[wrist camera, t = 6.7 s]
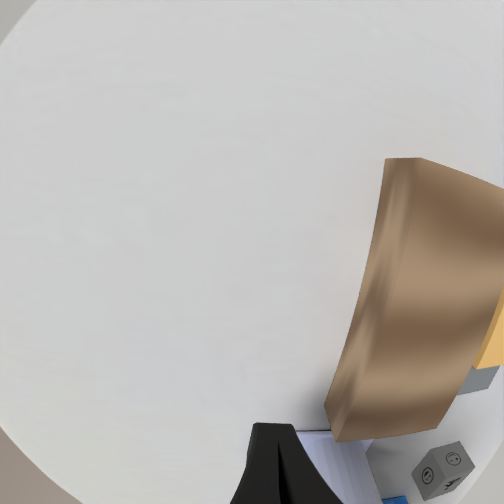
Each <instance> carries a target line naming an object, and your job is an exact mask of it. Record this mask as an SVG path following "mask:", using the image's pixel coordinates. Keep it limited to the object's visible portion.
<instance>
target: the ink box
mask: <svg viewBox="0 0 504 504" xmlns="http://www.w3.org/2000/svg"><path fill="white" fill-rule="evenodd" d="M382 502H383V504H408V502H407V500H406V497H405V496H402V497H397V498H392V499H386V500H382Z"/></svg>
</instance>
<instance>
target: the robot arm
mask: <svg viewBox="0 0 504 504" xmlns="http://www.w3.org/2000/svg"><path fill="white" fill-rule="evenodd" d="M373 440H374V439H369V440H360V441H348V442H335V440H334V437H333V434H332V431H314V432H296V431H295V429H294V427H293V425H292V424H277V423H255V424H253V428H252V433H251V437H250V442H249V446H248V451H247V461H246V468H245V471H244V473H243V476H242V478H241V481H240V483H239V486H238V488H237V490H236V492H235V494H234V496H233V498H232V500H231V502H230V504H383V502H382V499H381V497H380V494H379V491H378V488H377V485H376V482H375V480H374V477H373V474H372V471H371V468H370V466H369V463H368V460H367V457H366V455H365V453H366V451H367V450H368V448H369V446H370V445H371V443H372V441H373Z"/></svg>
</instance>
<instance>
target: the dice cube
mask: <svg viewBox="0 0 504 504" xmlns="http://www.w3.org/2000/svg"><path fill="white" fill-rule="evenodd" d="M474 468H475V465H474V464H473V462H472V461H471V459H470V457H469V456H468V454H467V453H466V451H465V449H464V448H463V446H462V445H461V443H460V442H459V441H458V442H455V443H452V444H448V445H445V446H441V447H438V448H434V449H430V451H429V452H428V453H427V455H426V456H425V457H424V458H423V460H422V461H421V462H420V463H419V465H418V466H417V467H416V468H415V470H414V471H413V472H412V475H413V478H414V480H415V482H416V484H417V486H418V489H419V491H420V493H421V495H422V498H423V500H424V501H426V500H429V499H431V498H434V497H437V496H440V495H443V494H445V493H448V492H451V491H453V490H454V489H455V488H456V487H457V486H458V485H459V484H460V483H461V482H462V481H463V480H464V479H465V478H466V477H467V476H468V475H469V474H470V473H471V471H472V470H473V469H474Z"/></svg>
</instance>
